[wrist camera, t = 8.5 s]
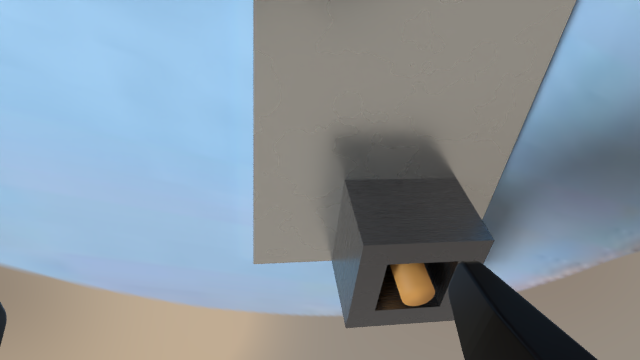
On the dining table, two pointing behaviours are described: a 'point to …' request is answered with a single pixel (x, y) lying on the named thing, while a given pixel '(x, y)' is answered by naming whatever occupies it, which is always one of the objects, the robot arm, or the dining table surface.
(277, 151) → the tie plate
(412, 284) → the post
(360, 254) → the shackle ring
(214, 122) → the dining table surface
